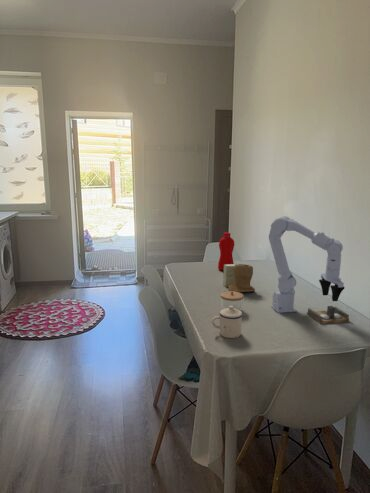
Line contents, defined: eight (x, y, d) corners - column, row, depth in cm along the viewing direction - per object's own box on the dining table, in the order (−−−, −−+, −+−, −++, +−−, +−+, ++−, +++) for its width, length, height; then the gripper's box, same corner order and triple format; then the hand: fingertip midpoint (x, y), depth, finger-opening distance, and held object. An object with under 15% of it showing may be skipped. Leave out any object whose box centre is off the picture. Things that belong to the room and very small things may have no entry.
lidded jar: (216, 307, 177) (216, 289, 175) (235, 305, 181) (236, 286, 179) (226, 316, 167) (227, 296, 165) (247, 313, 171) (248, 293, 169)
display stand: (320, 323, 160) (320, 317, 159) (307, 314, 170) (307, 308, 170) (348, 321, 163) (349, 315, 162) (334, 312, 173) (334, 306, 173)
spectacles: (322, 319, 161) (323, 309, 160) (313, 313, 169) (313, 303, 168) (343, 318, 163) (344, 307, 162) (333, 311, 171) (334, 301, 170)
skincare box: (225, 287, 209) (226, 266, 206) (222, 284, 213) (223, 264, 211) (235, 286, 210) (236, 265, 208) (232, 284, 215) (233, 263, 212)
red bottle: (236, 268, 248) (237, 232, 243) (229, 272, 239) (230, 234, 234) (223, 266, 253) (225, 230, 248) (216, 270, 244) (217, 232, 239)
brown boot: (250, 287, 209) (251, 261, 206) (257, 294, 198) (258, 266, 195) (224, 287, 207) (225, 262, 204) (229, 294, 196) (230, 267, 193)
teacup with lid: (239, 329, 154) (240, 302, 151) (243, 338, 145) (244, 310, 142) (210, 328, 153) (211, 302, 151) (212, 338, 145) (213, 310, 142)
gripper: (351, 272, 156) (347, 303, 159) (331, 264, 170) (329, 292, 173) (336, 273, 155) (333, 304, 157) (317, 264, 169) (315, 293, 171)
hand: (329, 298), depth 165 cm, fingers open, 7 cm apart
